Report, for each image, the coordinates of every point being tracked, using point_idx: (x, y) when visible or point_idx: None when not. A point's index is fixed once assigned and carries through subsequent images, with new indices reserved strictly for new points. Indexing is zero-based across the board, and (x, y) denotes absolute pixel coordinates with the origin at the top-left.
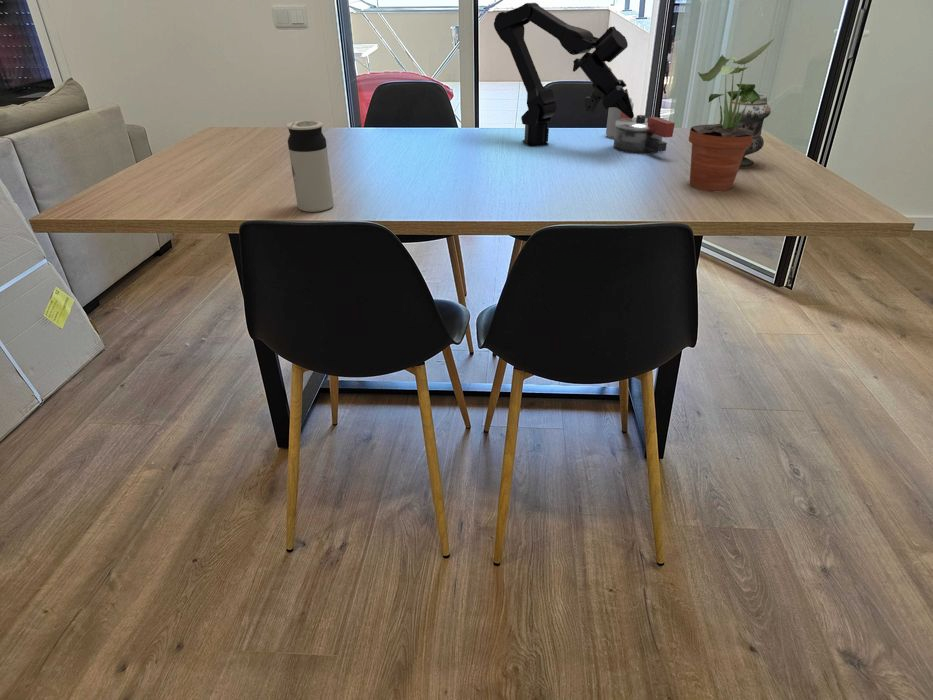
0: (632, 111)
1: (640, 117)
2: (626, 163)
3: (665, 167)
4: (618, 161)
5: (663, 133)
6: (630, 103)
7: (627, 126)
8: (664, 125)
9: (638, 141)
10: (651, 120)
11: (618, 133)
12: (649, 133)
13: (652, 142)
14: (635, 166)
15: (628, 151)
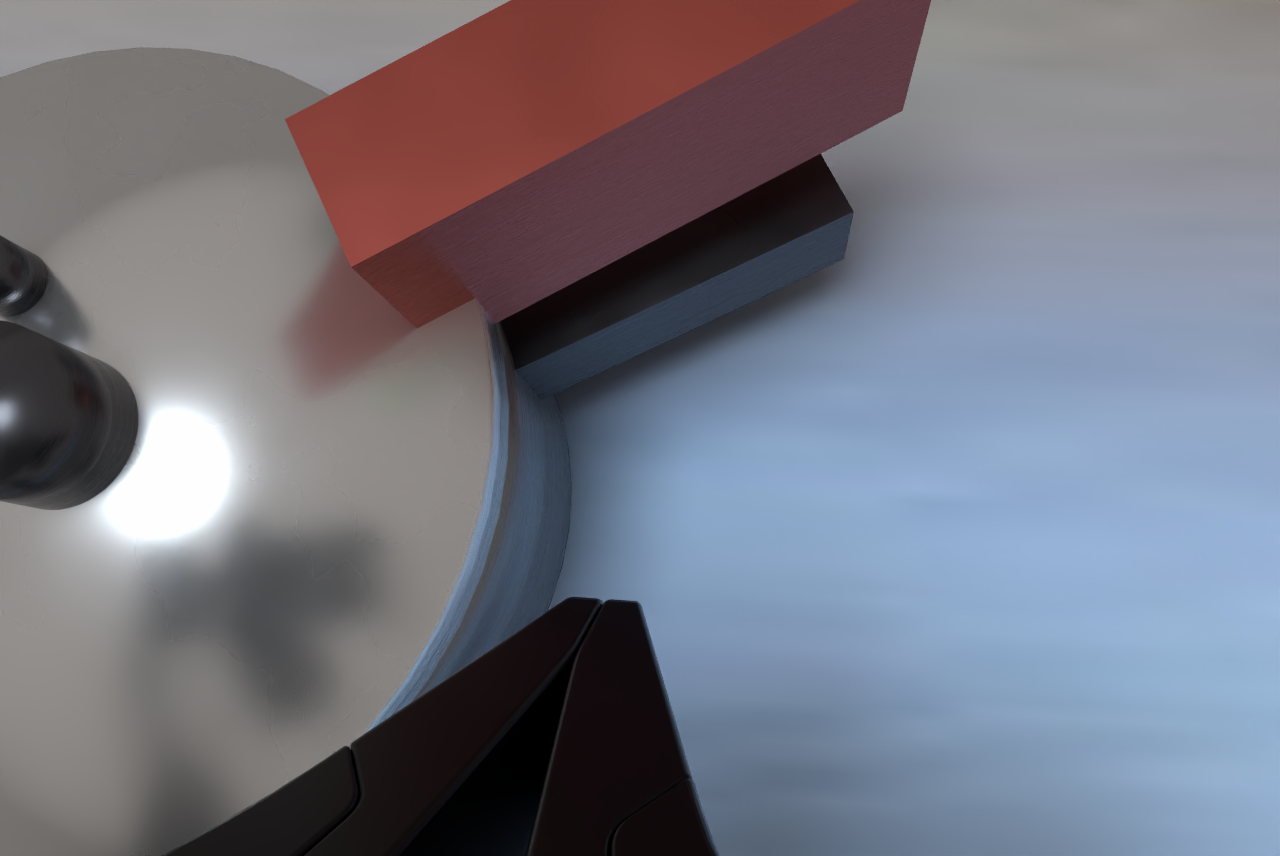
0: (657, 662)
1: (63, 424)
2: (1115, 677)
3: (1178, 216)
4: (1033, 783)
5: (873, 95)
6: (569, 782)
7: (401, 689)
8: (882, 15)
9: (534, 491)
10: (468, 229)
11: None
12: None
13: (687, 301)
14: (1243, 566)
15: None
